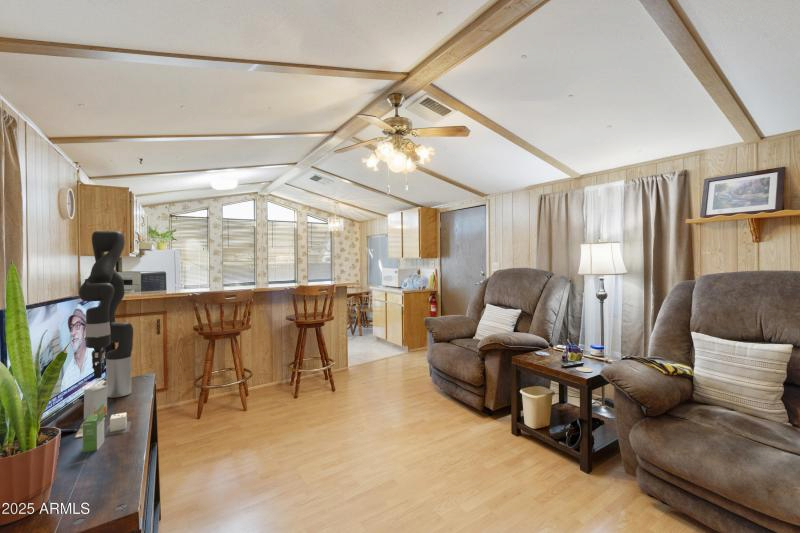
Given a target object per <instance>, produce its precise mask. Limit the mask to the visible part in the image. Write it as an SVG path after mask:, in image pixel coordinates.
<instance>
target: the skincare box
mask: <svg viewBox="0 0 800 533" xmlns="http://www.w3.org/2000/svg"><path fill="white" fill-rule="evenodd" d="M83 399H84V400H83V421H85V420H86V419H87V418H88V417H89V416H90V415H93V414H97V409H98V408H99V407H100V406H101V405H102V404H103V403H104V417H105V416H107V415H108V397H107V386H106V385H103V384H97V385H95V386H92V387H90V388H87V389H84V390H83ZM101 411H102V408H101V409H100V411H99V413H100V412H101Z"/></svg>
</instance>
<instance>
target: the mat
mask: <svg viewBox="0 0 800 533" xmlns="http://www.w3.org/2000/svg"><path fill="white" fill-rule="evenodd" d="M131 424H132V421H131V420H130V421H127V425H126V429H122V430H116V431H111V432H110V424H108V425H107V428H106V431H105V432H104V437H107V436H113V435H119V434H123V433H125V434H126V433H129V432H130V429H131Z"/></svg>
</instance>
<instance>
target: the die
mask: <svg viewBox="0 0 800 533" xmlns="http://www.w3.org/2000/svg"><path fill="white" fill-rule="evenodd" d="M127 422H128V413H127V412H120V413H114V414H111V416H110V419H109V425H110V432H111V431H116V430H122V429H126V425H127Z"/></svg>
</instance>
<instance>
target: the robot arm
mask: <svg viewBox="0 0 800 533" xmlns="http://www.w3.org/2000/svg"><path fill="white" fill-rule="evenodd" d="M125 242H126V241H125V236H124V233H123V232H121V231H118V230H110V231H109V230H97V231H94V232H93V233H92V234H91V246H92V250H93V256H94V260H95V261H94V264H93V265H92V268H91V271H90V274H89V276H88V277H87V279H86V280H85V281H84V282H83V283H82V285H80V288H79V289H78V290H79V291H78V297H79V298H80V300H81V301H83V302H91V303H92V302H99V304H100V305H98V306H94V307H89V308H87V309H86V311H85V347H86V348H87V349H93V350H92V351H91V363H92V364H91V365H92V369H93V378H94V379H95V380H96V379H101V378H102V377H103V376H102V373H103V372H104V371H106V372H105V377H106V378H105V379H106V380H105V381H106V382H105V384H106V385H105V386H107V399H108V398H110V399H111V398H112V399H113V398H120V397H125V396H128V395H130V394H131V393H132V352H133V349H134V348H133V347H134V346H133V345H134V344H133V342H134V327H133V325H132V323H130V322H122V321H121V322H116V316H115V315H116V311H117V308H118V307H119V305H120V304H121V302H122V300H123V299H124V296H125V291H126V290H125V283H124V279H123V277H122V276H121V274H120V273H119V272H117V270H116V269H115V268H116V265H117V262H118V261H119V259H120V257H121V255H122V253H123V252H124V249H125ZM112 343H113V344H117V347H116V348H115V349H112V350H109V351H107V352H106V349H105V348H106V347H108V346H110V345H111V344H112ZM105 362H106V363H105ZM105 364H106V365H105ZM105 368H106V370H105Z"/></svg>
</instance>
